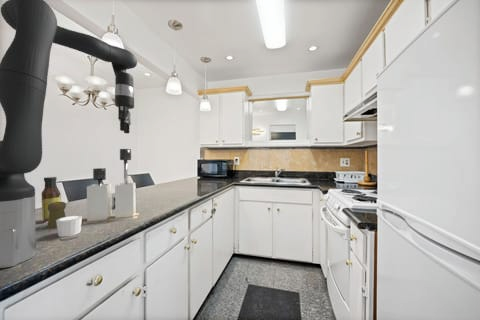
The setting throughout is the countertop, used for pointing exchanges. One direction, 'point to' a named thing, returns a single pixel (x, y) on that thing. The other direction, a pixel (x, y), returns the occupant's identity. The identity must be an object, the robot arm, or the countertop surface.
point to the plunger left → (99, 175)
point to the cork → (55, 213)
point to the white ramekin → (69, 226)
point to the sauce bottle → (49, 196)
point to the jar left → (98, 202)
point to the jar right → (125, 200)
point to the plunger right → (125, 162)
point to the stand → (112, 219)
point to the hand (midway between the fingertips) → (125, 132)
